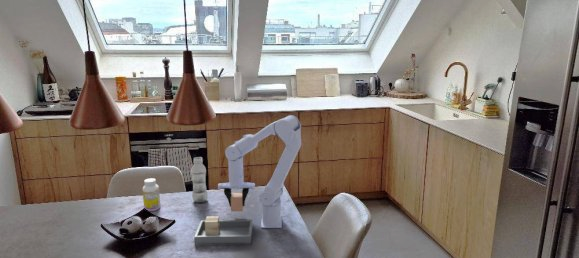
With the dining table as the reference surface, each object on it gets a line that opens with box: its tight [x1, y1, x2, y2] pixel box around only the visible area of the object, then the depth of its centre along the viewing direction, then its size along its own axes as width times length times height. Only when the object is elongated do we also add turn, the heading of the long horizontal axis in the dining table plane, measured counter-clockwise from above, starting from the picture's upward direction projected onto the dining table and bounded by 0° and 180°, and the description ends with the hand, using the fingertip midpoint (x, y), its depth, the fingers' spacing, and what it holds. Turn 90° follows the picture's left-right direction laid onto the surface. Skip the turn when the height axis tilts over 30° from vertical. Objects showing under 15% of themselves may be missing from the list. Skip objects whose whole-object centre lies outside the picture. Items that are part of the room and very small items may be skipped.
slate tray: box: [193, 219, 254, 247], centre depth 149 cm, size 13×20×4 cm, turn 92°
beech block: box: [204, 215, 220, 236], centre depth 148 cm, size 4×4×6 cm
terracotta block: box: [230, 192, 244, 212], centre depth 163 cm, size 4×4×6 cm
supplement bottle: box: [142, 177, 161, 212], centre depth 171 cm, size 7×7×13 cm
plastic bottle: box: [190, 156, 209, 203], centre depth 178 cm, size 6×7×20 cm
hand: (237, 205), depth 164 cm, fingers closed on terracotta block, 4 cm apart
